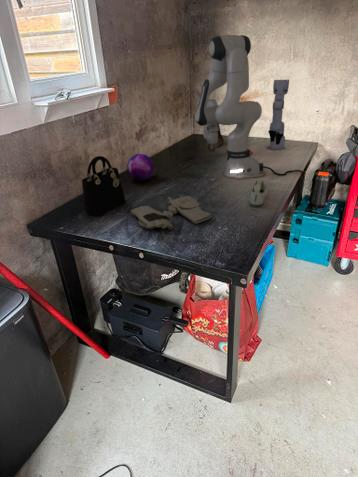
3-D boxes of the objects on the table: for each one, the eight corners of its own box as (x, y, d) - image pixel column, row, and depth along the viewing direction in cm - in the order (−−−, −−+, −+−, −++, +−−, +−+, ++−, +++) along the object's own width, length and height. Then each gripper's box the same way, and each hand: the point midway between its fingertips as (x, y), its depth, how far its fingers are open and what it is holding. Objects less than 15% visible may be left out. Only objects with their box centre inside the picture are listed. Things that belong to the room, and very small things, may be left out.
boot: (224, 140, 260) (225, 113, 250) (221, 148, 240) (222, 119, 230) (213, 140, 262) (213, 113, 252) (210, 148, 242) (209, 119, 232)
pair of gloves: (147, 237, 131) (146, 225, 129) (129, 213, 152) (128, 202, 149) (214, 220, 141) (214, 209, 138) (188, 199, 162) (188, 189, 159)
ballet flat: (269, 188, 169) (270, 173, 165) (265, 208, 149) (266, 191, 145) (252, 187, 171) (253, 172, 167) (246, 206, 151) (247, 190, 147)
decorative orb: (160, 177, 192) (157, 152, 184) (144, 186, 181) (141, 159, 174) (139, 174, 199) (137, 149, 192) (123, 182, 189) (119, 156, 181)
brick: (212, 149, 223) (212, 143, 220) (214, 151, 219) (214, 144, 217) (205, 150, 222) (205, 143, 220) (207, 152, 218) (207, 145, 216)
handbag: (98, 217, 149) (87, 164, 137) (84, 214, 154) (72, 161, 141) (127, 201, 164) (120, 151, 152) (113, 198, 169) (105, 149, 156)
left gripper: (200, 123, 221) (201, 144, 228) (210, 129, 203) (210, 151, 210) (209, 122, 222) (210, 143, 229) (219, 128, 204) (219, 150, 211)
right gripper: (265, 119, 212) (264, 141, 219) (276, 123, 200) (274, 146, 207) (276, 118, 213) (274, 139, 220) (287, 122, 201) (284, 145, 208)
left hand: (210, 147), depth 219 cm, fingers closed on brick, 4 cm apart
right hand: (274, 142), depth 213 cm, fingers open, 7 cm apart
